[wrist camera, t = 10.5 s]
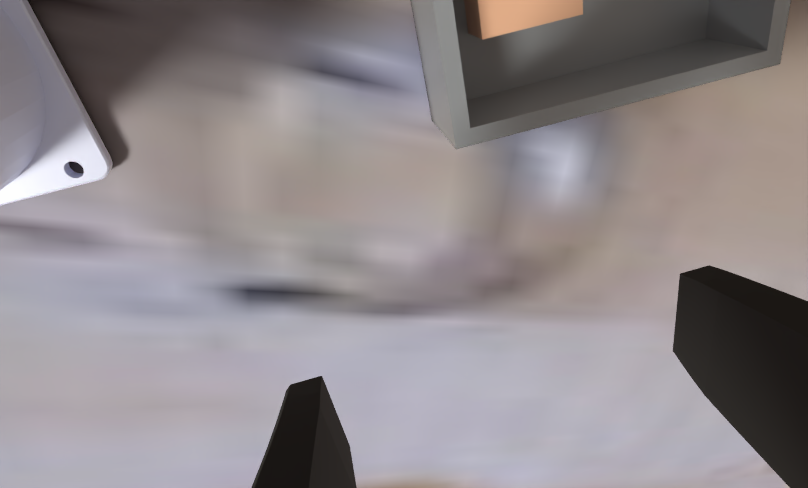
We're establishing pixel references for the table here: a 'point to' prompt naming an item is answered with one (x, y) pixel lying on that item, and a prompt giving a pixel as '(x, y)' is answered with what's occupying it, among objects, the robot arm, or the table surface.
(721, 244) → the table surface
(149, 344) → the table surface
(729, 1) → the storage box
